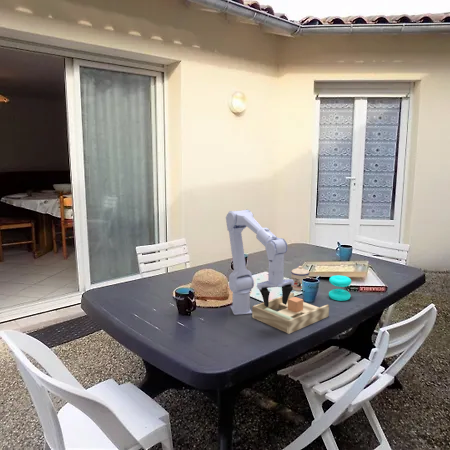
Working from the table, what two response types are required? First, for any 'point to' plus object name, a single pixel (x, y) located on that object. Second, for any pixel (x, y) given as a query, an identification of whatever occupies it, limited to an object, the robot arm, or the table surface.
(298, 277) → the teacup with lid
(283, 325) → the trap box
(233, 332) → the table surface
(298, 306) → the block
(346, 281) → the cyan spool
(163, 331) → the table surface
